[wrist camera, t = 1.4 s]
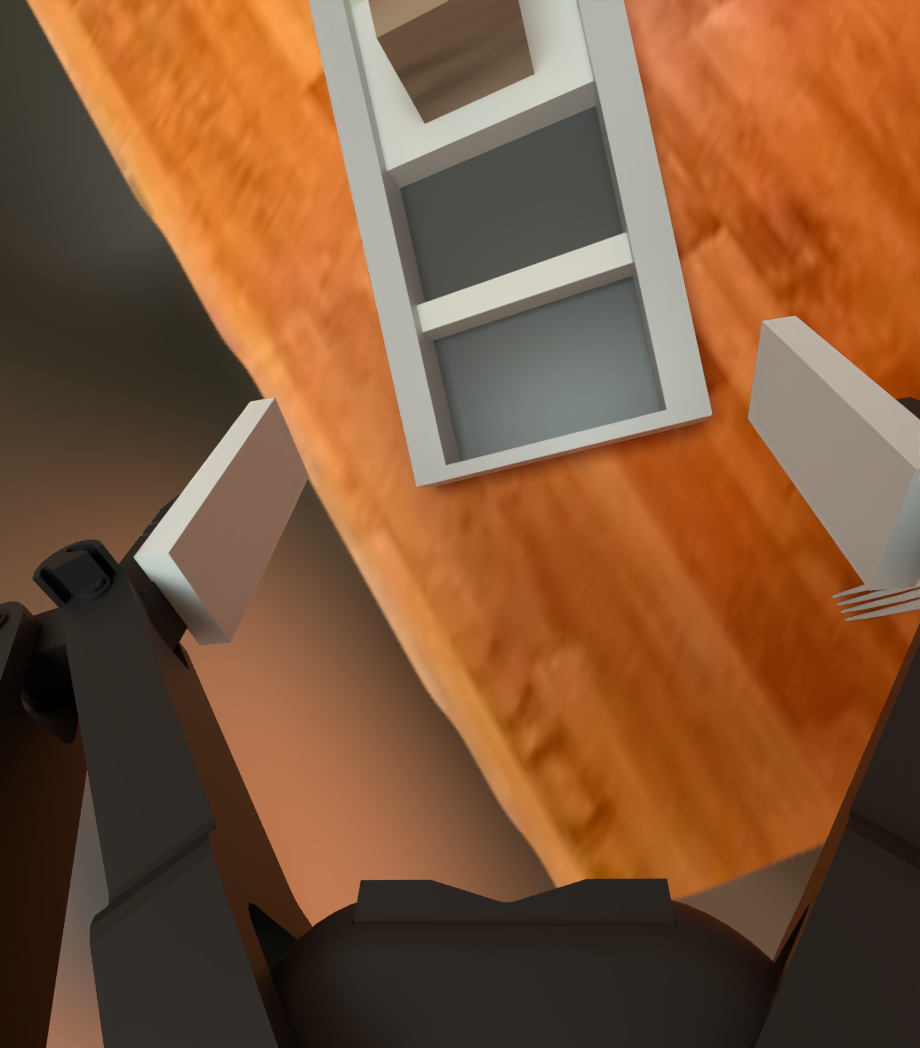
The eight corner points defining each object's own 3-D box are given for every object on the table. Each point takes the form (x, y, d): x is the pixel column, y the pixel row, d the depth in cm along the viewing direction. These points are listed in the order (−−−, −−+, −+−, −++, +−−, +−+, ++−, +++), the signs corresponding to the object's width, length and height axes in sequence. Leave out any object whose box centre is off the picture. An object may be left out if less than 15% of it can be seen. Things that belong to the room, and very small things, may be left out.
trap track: (702, 422, 38) (719, 409, 32) (436, 486, 44) (403, 487, 38) (548, -296, 38) (532, -463, 31) (299, -134, 44) (240, -245, 37)
